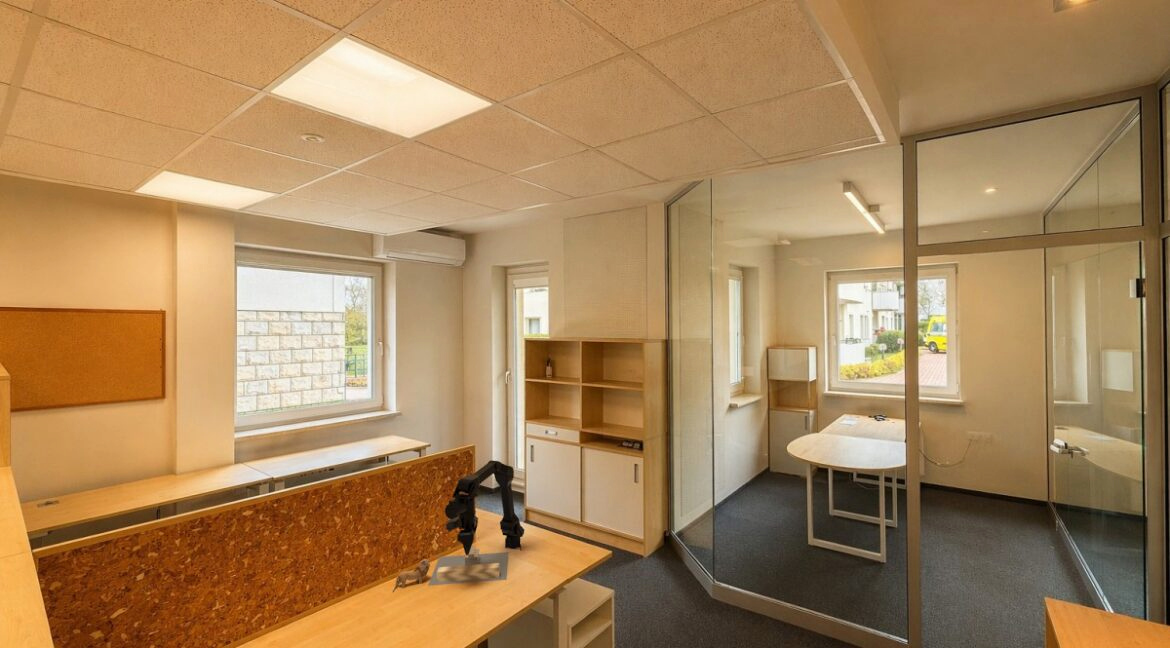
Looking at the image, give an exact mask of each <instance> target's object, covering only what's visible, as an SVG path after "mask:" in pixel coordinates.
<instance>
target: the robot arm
mask: <svg viewBox="0 0 1170 648" xmlns="http://www.w3.org/2000/svg"><path fill="white" fill-rule="evenodd" d="M514 474H515V472H514V466H511V465H507V464H505V463H502V462H501V461H499V460H488V462H487V463H486V464H484V466H482V467H481V468H479V469H478V470H477V471H475V472H474V473H473V474H470V475H466V476H463V477H462V478H460V479H458V482H457V484H456V487H455V489H454V491H453V494H452V498H453V499H450V500H448V504H446V506H445V508H444V515H445V516H446V517H447V518H448V519H447V521H445V529H446V530H447V531H448V533H450V532H452V531H454V530H456V529H459V531H458V533H457V535H456V540H457V542H458V543H461V544H462V547H463V551H464V553H465V555H469V552H470V549H471V547H472V546H473V543H474V541H475V534H476V531H477V529H478V525H479V518H478V517H477V516H476V513H477V511H476V498H477V497H479V493H477V491H478V490H479V489H480V487H481V484H482V483H483V482H484V481H486V480H487V479H489V478H490V477H491V476H492V475H494V481H496V483H497V484H498V486H499V489H500V497H501V505H502V506H501V507H502V513H503V515H502V516H503V517H502V519H501V520H500V521H499V525H500V529H499V530H501V533H502V536H506V537H505V538H504V547H505V549H511V550H514V549H518V548H519V551H522V544H521V538H522V537H523V536H524V534H525V528H523V526H522V525H521V522H520V518H519V517H518V516H517V514H516V512H515V505H514V497H513V488H512V482H513V480H514V478H515V475H514Z"/></svg>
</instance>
